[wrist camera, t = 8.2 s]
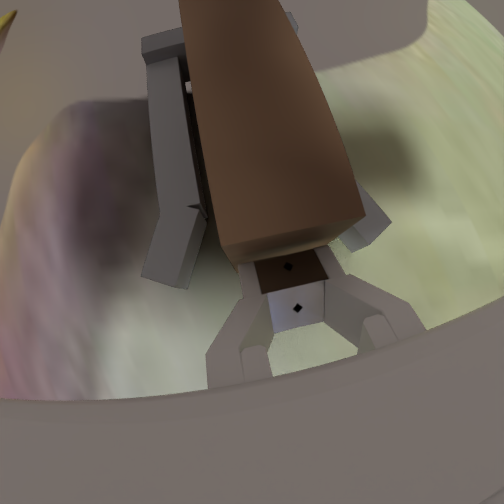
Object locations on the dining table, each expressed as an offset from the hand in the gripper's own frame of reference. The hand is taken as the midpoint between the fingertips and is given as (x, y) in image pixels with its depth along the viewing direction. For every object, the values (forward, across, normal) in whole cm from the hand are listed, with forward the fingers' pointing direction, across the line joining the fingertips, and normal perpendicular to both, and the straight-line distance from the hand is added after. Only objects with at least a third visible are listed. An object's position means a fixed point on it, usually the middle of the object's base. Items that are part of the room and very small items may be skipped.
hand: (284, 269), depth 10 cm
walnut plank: (+8, 0, -1) cm, 8 cm away
